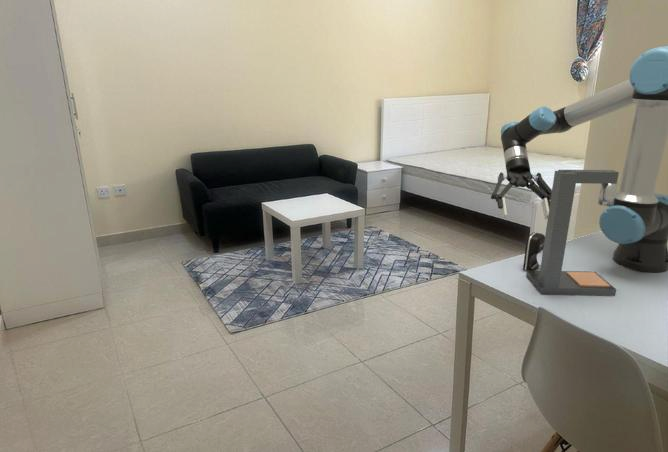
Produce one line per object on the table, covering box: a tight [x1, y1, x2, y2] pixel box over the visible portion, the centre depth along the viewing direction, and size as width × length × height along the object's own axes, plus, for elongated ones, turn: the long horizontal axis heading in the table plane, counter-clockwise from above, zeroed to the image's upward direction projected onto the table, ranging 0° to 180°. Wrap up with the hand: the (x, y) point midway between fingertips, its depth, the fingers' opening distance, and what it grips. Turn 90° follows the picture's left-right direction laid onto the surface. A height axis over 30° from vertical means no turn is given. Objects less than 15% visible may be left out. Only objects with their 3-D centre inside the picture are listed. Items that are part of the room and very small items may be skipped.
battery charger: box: [522, 231, 545, 272], centre depth 142 cm, size 7×4×11 cm, turn 138°
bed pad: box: [567, 271, 610, 287], centre depth 131 cm, size 8×9×1 cm
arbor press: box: [525, 169, 620, 297], centre depth 127 cm, size 20×12×34 cm, turn 87°
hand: (526, 217), depth 149 cm, fingers open, 13 cm apart
